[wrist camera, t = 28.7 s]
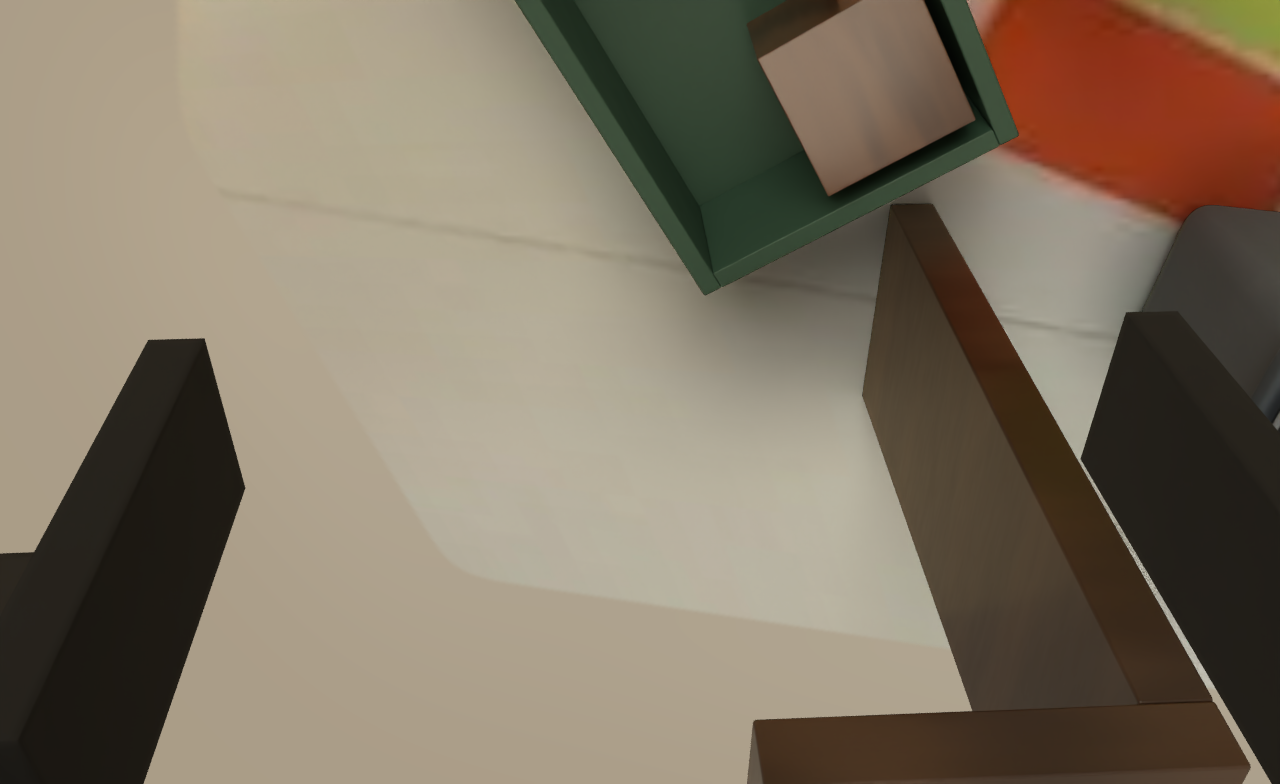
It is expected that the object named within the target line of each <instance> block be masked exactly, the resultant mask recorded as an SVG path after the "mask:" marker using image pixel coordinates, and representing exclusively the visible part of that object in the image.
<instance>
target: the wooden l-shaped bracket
mask: <svg viewBox="0 0 1280 784" xmlns="http://www.w3.org/2000/svg"><path fill="white" fill-rule="evenodd" d="M862 396H863V399H864V402H865V405H866V408H867V410H868V413H869V416H870V419H871V422H872V425H873V428H874V431H875V433H876V436H877V439H878V442H879V445H880V448H881V451H882V453H883V456H884V459H885V462H886V465H887V468H888V471H889V473H890V476H891V479H892V482H893V485H894V488H895V491H896V493H897V496H898V499H899V502H900V505H901V508H902V511H903V513H904V516H905V519H906V522H907V525H908V528H909V531H910V533H911V536H912V539H913V542H914V545H915V548H916V551H917V553H918V556H919V559H920V562H921V565H922V568H923V571H924V574H925V576H926V579H927V582H928V585H929V588H930V591H931V594H932V596H933V599H934V602H935V605H936V608H937V611H938V614H939V616H940V619H941V622H942V625H943V628H944V631H945V634H946V636H947V639H948V642H949V645H950V648H951V651H952V654H953V656H954V659H955V662H956V665H957V668H958V671H959V674H960V676H961V679H962V682H963V685H964V688H965V691H966V693H967V696H968V699H969V702H970V705H971V708H972V711H968V712H942V713H918V714H917V713H916V714H894V715H893V714H891V715H866V716H842V717H816V718H792V719H766V720H755V721H754V722H753V728H752V739H751V750H750V759H749V769H748V779H747V784H1242V783H1243V781H1244V779H1245V778H1246V775H1247V774H1248V772H1249V770H1250V768H1251V767H1250V764H1249V762H1248V760H1247V759H1246V756H1245V755H1244V753H1243V751H1242V750H1241V748H1240V746H1239V744H1238V742H1237V741H1236V739H1235V737H1234V735H1233V734H1232V732H1231V730H1230V728H1229V726H1228V725H1227V723H1226V721H1225V719H1224V718H1223V716H1222V714H1221V712H1220V711H1219V709H1218V707H1217V705H1216V704H1215V703H1214V702H1212V697H1211V695H1210V693H1209V691H1208V690H1207V688H1206V686H1205V684H1204V683H1203V681H1202V679H1201V677H1200V675H1199V674H1198V672H1197V670H1196V668H1195V667H1194V665H1193V663H1192V661H1191V660H1190V658H1189V656H1188V654H1187V652H1186V651H1185V649H1184V647H1183V645H1182V644H1181V642H1180V640H1179V638H1178V637H1177V635H1176V633H1175V631H1174V630H1173V628H1172V626H1171V624H1170V622H1169V621H1168V619H1167V617H1166V615H1165V614H1164V612H1163V610H1162V608H1161V607H1160V605H1159V603H1158V601H1157V599H1156V598H1155V596H1154V594H1153V592H1152V591H1151V589H1150V587H1149V585H1148V584H1147V582H1146V580H1145V578H1144V576H1143V575H1142V573H1141V571H1140V569H1139V568H1138V566H1137V564H1136V562H1135V561H1134V559H1133V557H1132V555H1131V554H1130V552H1129V550H1128V548H1127V546H1126V545H1125V543H1124V541H1123V539H1122V538H1121V536H1120V534H1119V532H1118V531H1117V529H1116V527H1115V525H1114V523H1113V522H1112V520H1111V518H1110V516H1109V515H1108V513H1107V511H1106V509H1105V508H1104V506H1103V504H1102V502H1101V500H1100V499H1099V497H1098V495H1097V493H1096V492H1095V490H1094V488H1093V486H1092V485H1091V483H1090V481H1089V479H1088V477H1087V476H1086V474H1085V472H1084V470H1083V469H1082V467H1081V465H1080V463H1079V462H1078V460H1077V458H1076V456H1075V455H1074V453H1073V451H1072V449H1071V447H1070V446H1069V444H1068V442H1067V440H1066V439H1065V437H1064V435H1063V433H1062V432H1061V430H1060V428H1059V426H1058V424H1057V423H1056V421H1055V419H1054V417H1053V416H1052V414H1051V412H1050V410H1049V409H1048V407H1047V405H1046V403H1045V401H1044V400H1043V398H1042V396H1041V394H1040V393H1039V391H1038V389H1037V387H1036V386H1035V384H1034V382H1033V380H1032V379H1031V377H1030V375H1029V373H1028V371H1027V370H1026V368H1025V366H1024V364H1023V363H1022V361H1021V359H1020V357H1019V356H1018V354H1017V352H1016V350H1015V348H1014V347H1013V345H1012V343H1011V341H1010V340H1009V338H1008V336H1007V334H1006V333H1005V331H1004V329H1003V327H1002V325H1001V324H1000V322H999V320H998V318H997V317H996V315H995V313H994V311H993V310H992V308H991V306H990V304H989V303H988V301H987V299H986V297H985V295H984V294H983V292H982V290H981V288H980V287H979V285H978V283H977V281H976V280H975V278H974V276H973V274H972V272H971V271H970V269H969V267H968V265H967V264H966V262H965V260H964V258H963V257H962V255H961V253H960V251H959V249H958V248H957V246H956V244H955V242H954V241H953V239H952V237H951V235H950V234H949V232H948V230H947V228H946V226H945V225H944V223H943V221H942V219H941V218H940V216H939V214H938V212H937V211H936V209H935V207H934V205H933V204H907V205H891V207H890V213H889V220H888V227H887V233H886V240H885V247H884V253H883V260H882V267H881V274H880V280H879V287H878V294H877V300H876V307H875V314H874V320H873V327H872V334H871V341H870V347H869V354H868V361H867V367H866V374H865V381H864V387H863V394H862Z"/></svg>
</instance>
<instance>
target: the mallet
mask: <svg viewBox="0 0 1280 784" xmlns="http://www.w3.org/2000/svg"><path fill="white" fill-rule="evenodd" d="M747 28H748V31H749V34H750V38H751V41H752V44H753V47H754V51H755V54H756V57H757V60H758V62H759V64H760V66H761V68H762V70H763V72H764V74H765V76H766V78H767V80H768V82H769V83H770V85H771V87H772V89H773V91H774V93H775V95H776V97H777V99H778V101H779V103H780V105H781V107H782V109H783V110H784V112H785V114H786V116H787V118H788V120H789V122H790V124H791V126H792V128H793V130H794V132H795V134H796V136H797V137H798V139H799V141H800V143H801V145H802V147H803V149H804V151H805V153H806V155H807V157H808V159H809V161H810V162H811V164H812V166H813V168H814V170H815V172H816V174H817V176H818V178H819V180H820V182H821V184H822V186H823V188H824V189H825V191H826V193H827V195H828V196H831V195H833V194H834V193H836V192H838V191H840V190H842V189H844V188H846V187H848V186H850V185H852V184H854V183H856V182H858V181H859V180H861V179H863V178H865V177H867V176H869V175H871V174H873V173H875V172H877V171H879V170H881V169H883V168H884V167H886V166H888V165H890V164H892V163H894V162H896V161H898V160H900V159H902V158H904V157H906V156H907V155H909V154H911V153H913V152H915V151H917V150H919V149H921V148H923V147H925V146H927V145H929V144H931V143H932V142H934V141H936V140H938V139H940V138H942V137H944V136H946V135H948V134H950V133H952V132H954V131H956V130H957V129H959V128H961V127H963V126H965V125H967V124H969V123H971V122H973V121H975V120H976V118H975V116H974V114H973V111H972V109H971V107H970V104H969V102H968V100H967V98H966V95H965V93H964V91H963V88H962V86H961V84H960V82H959V79H958V77H957V75H956V72H955V70H954V68H953V65H952V63H951V61H950V59H949V56H948V54H947V52H946V49H945V47H944V45H943V42H942V40H941V38H940V36H939V33H938V31H937V29H936V26H935V24H934V22H933V19H932V17H931V15H930V13H929V10H928V8H927V6H926V3H925V1H924V0H786V1H785V2H783V3H781V4H779V5H778V6H776V7H774V8H773V9H771V10H769V11H767V12H766V13H764V14H762V15H760V16H759V17H757V18H755V19H753V20H752V21H750V22H748V23H747Z"/></svg>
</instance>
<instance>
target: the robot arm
mask: <svg viewBox="0 0 1280 784" xmlns="http://www.w3.org/2000/svg"><path fill="white" fill-rule="evenodd" d="M1081 460H1082V462H1083V464H1084V466H1085V467H1086V469H1087V471H1088V472H1089V474H1090V476H1091V477H1092V479H1093V481H1094V483H1095V484H1096V486H1097V488H1098V489H1099V491H1100V493H1101V494H1102V496H1103V498H1104V500H1105V501H1106V503H1107V505H1108V506H1109V508H1110V510H1111V511H1112V513H1113V515H1114V517H1115V518H1116V520H1117V522H1118V523H1119V525H1120V527H1121V528H1122V530H1123V532H1124V534H1125V535H1126V537H1127V539H1128V540H1129V542H1130V544H1131V545H1132V547H1133V549H1134V551H1135V552H1136V554H1137V556H1138V557H1139V559H1140V561H1141V562H1142V564H1143V566H1144V567H1145V569H1146V571H1147V573H1148V574H1149V576H1150V578H1151V579H1152V581H1153V583H1154V584H1155V586H1156V588H1157V590H1158V591H1159V593H1160V595H1161V596H1162V598H1163V600H1164V601H1165V603H1166V605H1167V607H1168V608H1169V610H1170V612H1171V613H1172V615H1173V617H1174V618H1175V620H1176V622H1177V624H1178V625H1179V627H1180V629H1181V630H1182V632H1183V634H1184V635H1185V637H1186V639H1187V641H1188V642H1189V644H1190V646H1191V647H1192V649H1193V651H1194V652H1195V654H1196V656H1197V658H1198V659H1199V661H1200V663H1201V664H1202V666H1203V668H1204V669H1205V671H1206V673H1207V674H1208V676H1209V678H1210V680H1211V681H1212V683H1213V685H1214V686H1215V688H1216V690H1217V691H1218V693H1219V695H1220V697H1221V698H1222V700H1223V701H1224V703H1225V705H1226V707H1227V708H1228V710H1229V712H1230V714H1231V715H1232V717H1233V719H1234V720H1235V722H1236V724H1237V725H1238V727H1239V729H1240V731H1241V732H1242V734H1243V736H1244V737H1245V739H1246V741H1247V742H1248V744H1249V746H1250V747H1251V749H1252V751H1253V753H1254V754H1255V756H1256V757H1257V759H1258V761H1259V763H1260V764H1261V766H1262V768H1263V769H1264V771H1265V773H1266V775H1267V776H1268V778H1269V780H1270V781H1271V783H1272V784H1280V433H1279V431H1278V430H1277V429H1276V428H1275V427H1274V426H1273V424H1272V423H1271V422H1270V421H1269V420H1268V418H1267V417H1266V416H1265V415H1264V414H1263V412H1262V411H1261V410H1260V409H1259V408H1258V406H1257V405H1256V404H1255V403H1254V402H1253V400H1252V399H1251V398H1250V397H1249V396H1248V395H1247V393H1246V392H1245V391H1244V390H1243V389H1242V387H1241V386H1240V385H1239V384H1238V383H1237V381H1236V380H1235V379H1234V378H1233V377H1232V375H1231V374H1230V373H1229V372H1228V371H1227V369H1226V368H1225V367H1224V366H1223V365H1222V363H1221V362H1220V361H1219V360H1218V359H1217V358H1216V356H1215V355H1214V354H1213V353H1212V352H1211V350H1210V349H1209V348H1208V347H1207V346H1206V344H1205V343H1204V342H1203V341H1202V340H1201V338H1200V337H1199V336H1198V335H1197V334H1196V332H1195V331H1194V330H1193V329H1192V328H1191V327H1190V325H1189V324H1188V323H1187V322H1186V321H1185V319H1184V318H1183V317H1182V316H1181V315H1180V313H1179V312H1178V311H1162V312H1126V314H1125V317H1124V321H1123V324H1122V327H1121V330H1120V334H1119V337H1118V340H1117V343H1116V347H1115V350H1114V353H1113V356H1112V359H1111V363H1110V366H1109V369H1108V372H1107V376H1106V379H1105V382H1104V385H1103V389H1102V392H1101V395H1100V398H1099V401H1098V405H1097V408H1096V411H1095V414H1094V418H1093V421H1092V424H1091V427H1090V431H1089V434H1088V437H1087V440H1086V443H1085V447H1084V450H1083V453H1082V456H1081ZM244 490H245V485H244V482H243V478H242V474H241V471H240V468H239V464H238V460H237V456H236V452H235V449H234V445H233V441H232V438H231V434H230V431H229V427H228V423H227V419H226V416H225V412H224V408H223V405H222V401H221V397H220V394H219V390H218V386H217V383H216V379H215V375H214V372H213V368H212V364H211V361H210V357H209V354H208V350H207V346H206V342H205V339H170V340H169V339H167V340H148V342H147V344H146V345H145V347H144V349H143V351H142V353H141V355H140V357H139V358H138V360H137V362H136V364H135V366H134V368H133V370H132V371H131V373H130V375H129V377H128V379H127V381H126V383H125V384H124V386H123V388H122V390H121V392H120V394H119V395H118V397H117V399H116V401H115V403H114V405H113V407H112V409H111V410H110V413H109V414H108V416H107V418H106V420H105V422H104V424H103V425H102V427H101V429H100V431H99V433H98V435H97V436H96V438H95V440H94V442H93V444H92V446H91V448H90V450H89V451H88V453H87V455H86V457H85V459H84V461H83V463H82V465H81V466H80V468H79V470H78V472H77V474H76V476H75V478H74V479H73V481H72V483H71V485H70V487H69V489H68V491H67V492H66V494H65V496H64V498H63V500H62V502H61V503H60V505H59V507H58V509H57V511H56V513H55V515H54V516H53V518H52V520H51V522H50V524H49V526H48V528H47V530H46V531H45V533H44V535H43V537H42V539H41V541H40V543H39V544H38V546H37V548H36V550H35V552H31V553H6V554H5V553H3V554H0V784H143V783H144V780H145V778H146V775H147V772H148V769H149V766H150V763H151V760H152V757H153V754H154V751H155V749H156V746H157V743H158V740H159V737H160V734H161V731H162V728H163V725H164V723H165V720H166V717H167V713H168V711H169V708H170V705H171V702H172V699H173V696H174V693H175V691H176V688H177V684H178V682H179V679H180V676H181V673H182V670H183V667H184V664H185V661H186V658H187V656H188V653H189V650H190V647H191V644H192V641H193V638H194V635H195V632H196V630H197V627H198V624H199V621H200V618H201V615H202V612H203V609H204V606H205V603H206V601H207V598H208V594H209V592H210V589H211V586H212V583H213V580H214V577H215V574H216V571H217V569H218V566H219V563H220V560H221V557H222V554H223V551H224V548H225V545H226V542H227V540H228V537H229V534H230V531H231V528H232V525H233V522H234V519H235V516H236V513H237V511H238V508H239V505H240V502H241V499H242V496H243V493H244Z"/></svg>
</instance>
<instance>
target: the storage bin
mask: <svg viewBox="0 0 1280 784" xmlns="http://www.w3.org/2000/svg"><path fill="white" fill-rule="evenodd" d="M1162 311H1178V312H1179V313H1180V315H1181V316H1182V317H1183V318H1184V319H1185V321H1186V322H1187V323H1188V324H1189V325H1190V327H1191V328H1192V329H1193V330H1194V331H1195V332H1196V334H1197V335H1198V336H1199V337H1200V338H1201V340H1202V341H1203V342H1204V343H1205V344H1206V346H1207V347H1208V348H1209V349H1210V350H1211V352H1212V353H1213V354H1214V355H1215V356H1216V358H1217V359H1218V360H1219V361H1220V362H1221V363H1222V365H1223V366H1224V367H1225V368H1226V369H1227V371H1228V372H1229V373H1230V374H1231V375H1232V377H1233V378H1234V379H1235V380H1236V381H1237V383H1238V384H1239V385H1240V386H1241V387H1242V389H1243V390H1244V391H1245V392H1246V393H1247V395H1248V396H1249V397H1250V398H1251V399H1252V400H1253V402H1254V403H1255V404H1256V405H1257V406H1258V408H1259V409H1260V410H1261V411H1262V412H1263V414H1264V415H1265V416H1266V417H1267V418H1268V420H1269V421H1270V422H1271V423H1272V424H1273V426H1274V427H1275V428H1276V429H1277V430H1278V431H1279V433H1280V212H1275V211H1264V210H1255V209H1246V208H1237V207H1228V206H1219V205H1206V206H1202V207H1200V208H1197V209H1196V210H1194V211H1193V212H1192V213H1191V214H1190V215H1189V216H1188V217H1187V219H1186V220H1185V221H1184V223H1183V225H1182V227H1181V229H1180V231H1179V233H1178V236H1177V238H1176V240H1175V242H1174V244H1173V246H1172V248H1171V251H1170V253H1169V255H1168V257H1167V259H1166V261H1165V263H1164V265H1163V268H1162V270H1161V272H1160V274H1159V276H1158V278H1157V281H1156V283H1155V285H1154V287H1153V289H1152V291H1151V293H1150V295H1149V297H1148V300H1147V302H1146V304H1145V306H1144V308H1143V310H1142V312H1162Z"/></svg>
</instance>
